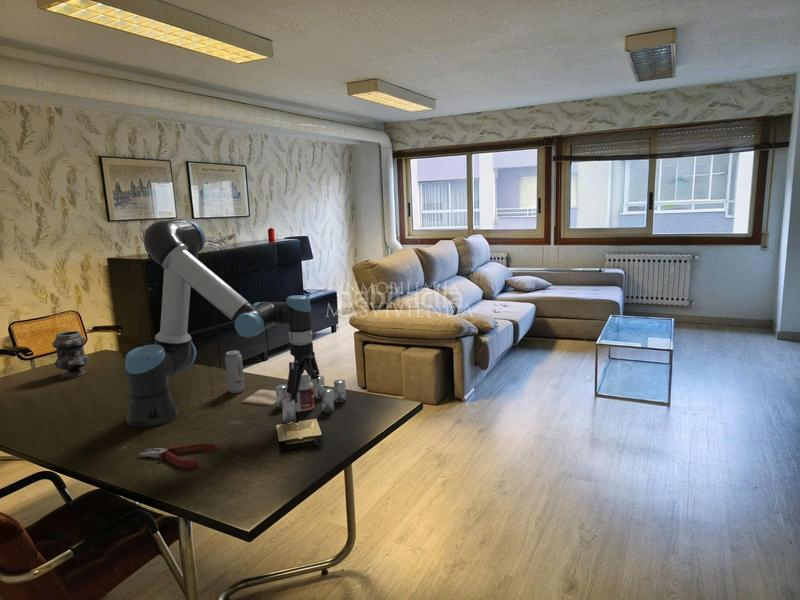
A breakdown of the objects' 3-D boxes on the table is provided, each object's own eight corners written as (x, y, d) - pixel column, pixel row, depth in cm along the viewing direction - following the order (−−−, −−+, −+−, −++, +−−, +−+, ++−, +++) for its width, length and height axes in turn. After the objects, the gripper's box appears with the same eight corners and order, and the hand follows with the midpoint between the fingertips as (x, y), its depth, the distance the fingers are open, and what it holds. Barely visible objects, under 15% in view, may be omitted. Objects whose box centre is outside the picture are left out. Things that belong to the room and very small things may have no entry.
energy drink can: (240, 394, 190) (236, 354, 187) (224, 393, 191) (221, 354, 188) (247, 388, 196) (244, 350, 193) (232, 387, 197) (229, 349, 194)
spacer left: (285, 408, 176) (284, 389, 174) (274, 407, 177) (273, 388, 175) (291, 404, 179) (289, 384, 178) (280, 403, 180) (279, 384, 179)
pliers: (155, 446, 152) (154, 438, 151) (218, 450, 148) (217, 442, 147) (128, 466, 141) (127, 457, 140) (196, 471, 137) (195, 462, 136)
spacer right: (331, 413, 171) (330, 393, 169) (320, 412, 172) (319, 392, 170) (336, 408, 174) (335, 388, 173) (325, 407, 176) (324, 387, 174)
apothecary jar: (96, 369, 224) (90, 328, 221) (81, 378, 212) (74, 336, 209) (67, 370, 223) (60, 330, 220) (50, 379, 212) (43, 337, 208)
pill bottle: (316, 409, 174) (314, 378, 172) (297, 412, 172) (295, 381, 170) (312, 403, 179) (310, 373, 177) (294, 406, 177) (292, 375, 175)
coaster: (272, 406, 178) (272, 404, 178) (242, 403, 181) (241, 401, 181) (289, 393, 189) (289, 391, 189) (260, 390, 193) (260, 389, 193)
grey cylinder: (343, 403, 179) (342, 383, 178) (332, 402, 180) (331, 382, 179) (347, 398, 183) (347, 379, 181) (337, 397, 184) (336, 379, 183)
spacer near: (292, 424, 163) (290, 403, 161) (281, 423, 164) (279, 402, 163) (298, 419, 167) (297, 398, 165) (287, 418, 168) (285, 397, 166)
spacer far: (322, 398, 183) (321, 379, 182) (311, 397, 185) (310, 379, 183) (326, 394, 187) (325, 376, 186) (316, 393, 188) (315, 375, 187)
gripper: (293, 353, 159) (298, 419, 163) (326, 333, 181) (330, 391, 186) (272, 352, 161) (277, 417, 165) (307, 332, 184) (311, 390, 188)
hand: (305, 403), depth 175 cm, fingers open, 12 cm apart
